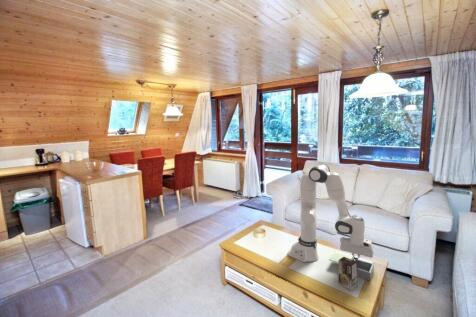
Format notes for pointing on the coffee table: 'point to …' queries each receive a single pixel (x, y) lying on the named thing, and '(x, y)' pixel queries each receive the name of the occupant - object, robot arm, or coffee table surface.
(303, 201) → the robot arm
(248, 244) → the coffee table surface
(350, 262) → the coffee box
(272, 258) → the coffee table surface
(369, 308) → the coffee table surface
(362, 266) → the bin
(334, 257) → the lid
